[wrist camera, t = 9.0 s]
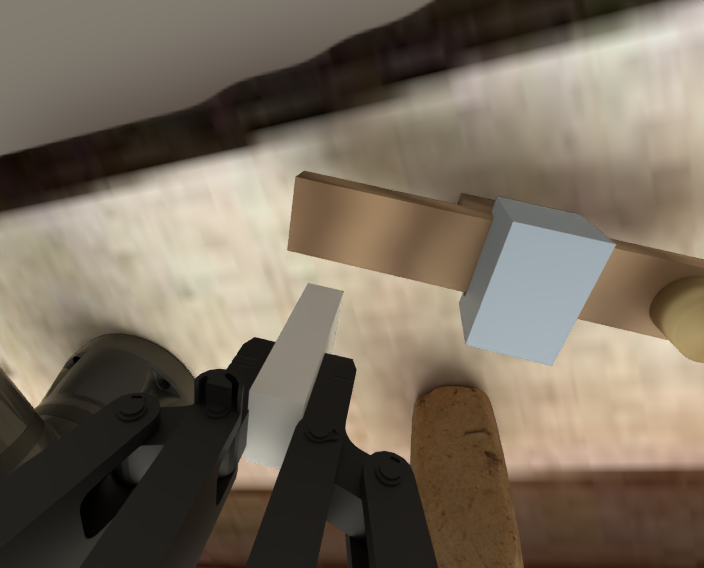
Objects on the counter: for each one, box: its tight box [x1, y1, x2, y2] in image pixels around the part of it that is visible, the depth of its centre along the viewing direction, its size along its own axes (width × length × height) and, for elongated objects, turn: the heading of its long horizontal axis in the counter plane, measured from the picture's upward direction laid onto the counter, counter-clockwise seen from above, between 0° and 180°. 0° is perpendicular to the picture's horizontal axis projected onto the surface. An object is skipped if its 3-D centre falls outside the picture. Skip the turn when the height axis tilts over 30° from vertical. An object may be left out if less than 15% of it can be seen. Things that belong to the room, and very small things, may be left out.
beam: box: [287, 171, 704, 363], centre depth 27 cm, size 28×5×10 cm, turn 80°
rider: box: [459, 196, 616, 366], centre depth 24 cm, size 5×8×5 cm, turn 170°
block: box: [410, 386, 523, 568], centre depth 32 cm, size 11×8×20 cm
